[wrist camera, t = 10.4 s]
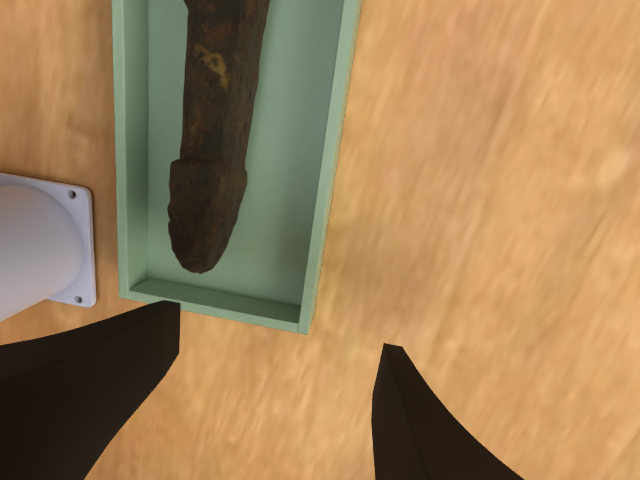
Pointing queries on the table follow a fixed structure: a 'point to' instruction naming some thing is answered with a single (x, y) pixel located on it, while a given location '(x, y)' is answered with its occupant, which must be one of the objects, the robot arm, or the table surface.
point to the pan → (261, 160)
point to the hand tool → (214, 127)
